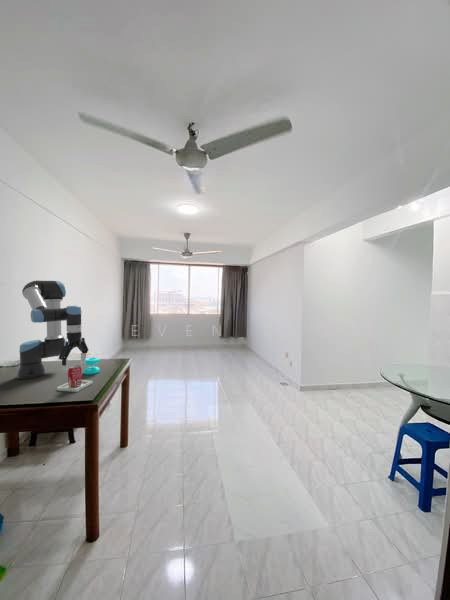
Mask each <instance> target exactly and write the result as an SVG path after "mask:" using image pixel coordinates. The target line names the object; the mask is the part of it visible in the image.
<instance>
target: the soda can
mask: <svg viewBox="0 0 450 600" xmlns="http://www.w3.org/2000/svg"><path fill="white" fill-rule="evenodd" d="M82 370H83V369H82V367H81V365H80V364H73V365H71V366H68V371H67V383H68V385H69V387H71V388H76V387H79V386H80V385H81V384H82V380H83V373H82V372H83V371H82Z"/></svg>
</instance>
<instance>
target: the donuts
mask: <svg viewBox="0 0 450 600" xmlns="http://www.w3.org/2000/svg"><path fill="white" fill-rule="evenodd" d="M85 362H86V364H85V365H86V366H88V367H86V368H84V370H83V374H84V375H88V376H89V375H95V374H98V373H99V372H100V370H101V369H100V367H98V366H92V365H96V364H98V363H99V362H100V358H99V357H95V356H94V357H93V356H91V357H86V358H85Z"/></svg>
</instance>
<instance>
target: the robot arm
mask: <svg viewBox="0 0 450 600" xmlns="http://www.w3.org/2000/svg"><path fill="white" fill-rule="evenodd" d="M66 293H67V292H66V287H65V284H64V282H62V281H59V280H32V281H30V282H28V283H26V284H25V285H24V286H23V288H22V293H21V294H22V296H23V298H24V299H26V300H27V301H28V303H29V305H30V308H31V311H30V321H31V322H32V323H35V324H36V323H46V336H45V338H44V340H43V341H42V340H41V339H36V340H35V339H34V340H29V341H25V342H23V343H21V344H20V345H19V350H18V351H19V368H18V370H17V374H16V378H17V379H18V380H29V379H35V378H38V377H43V376H44V375H45V374H46V369H45V367H44V364H43V361H42V359H49V358H54V357H58V360H61V366H62V371H63V372H68V369H69V359H68V357H69V355H70V354H71V352H72V350H73V349H75V348H77V349H79V351H80V364H82V365H86V362H85V359H87V354H88V352H89V347H88V346H87V343H86V341H85V339H86V338H85V337H82V307H81V306H80V305H68V306H66V307H63V308H61V302H62V301H63V300H64V299H63V298H65V297H66ZM62 321H66V332H67V333H66V338H65V336H64V335H63V334H62Z"/></svg>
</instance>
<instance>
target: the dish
mask: <svg viewBox="0 0 450 600" xmlns="http://www.w3.org/2000/svg"><path fill="white" fill-rule="evenodd" d="M93 381H94V380H83V379H82V384H81V385H80V386H79V387H76V388H71V387H69V385H68V382H66V383H64V384H62V385H59V386H57V387H56V391H57V392H67V393H68V392H70V393H78V392H79V391H82V390H83V389H86V388H88V387H89V386H91V385H93Z"/></svg>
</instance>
